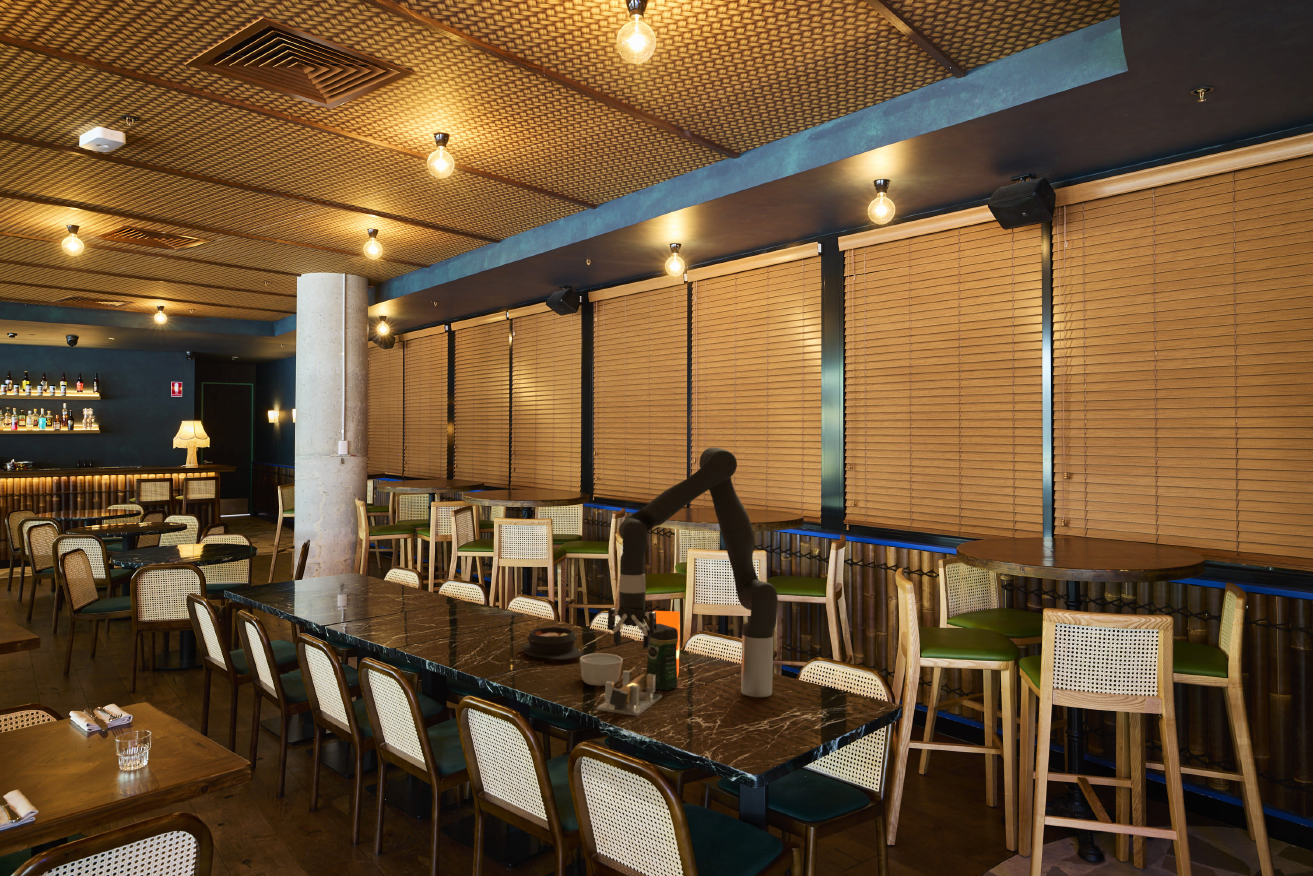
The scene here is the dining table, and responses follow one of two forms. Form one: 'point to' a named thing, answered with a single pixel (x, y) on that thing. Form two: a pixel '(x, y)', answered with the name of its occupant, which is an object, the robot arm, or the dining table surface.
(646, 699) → the white holder rack
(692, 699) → the dining table surface
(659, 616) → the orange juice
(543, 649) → the casserole
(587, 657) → the ramekin
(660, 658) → the coffee jar
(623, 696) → the tube
